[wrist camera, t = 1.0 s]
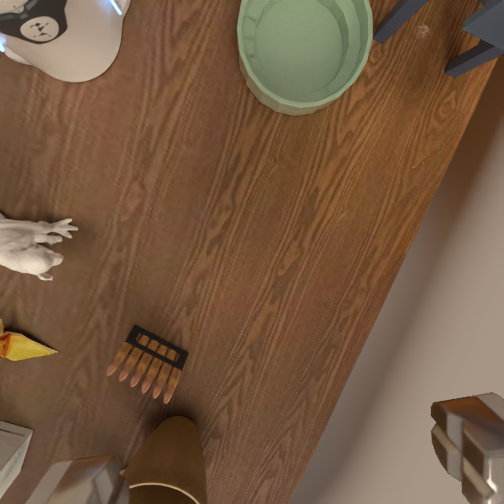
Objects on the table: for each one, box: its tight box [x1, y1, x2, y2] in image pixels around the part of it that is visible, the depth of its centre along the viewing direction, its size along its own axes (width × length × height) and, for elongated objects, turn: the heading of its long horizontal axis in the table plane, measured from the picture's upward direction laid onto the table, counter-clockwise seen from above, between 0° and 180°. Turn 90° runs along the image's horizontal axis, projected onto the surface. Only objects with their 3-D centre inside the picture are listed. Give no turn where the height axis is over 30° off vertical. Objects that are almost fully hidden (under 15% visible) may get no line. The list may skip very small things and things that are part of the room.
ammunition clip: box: [107, 325, 188, 404], centre depth 46 cm, size 11×2×12 cm, turn 57°
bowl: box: [237, 0, 373, 116], centre depth 40 cm, size 17×17×6 cm
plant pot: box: [122, 416, 207, 504], centre depth 49 cm, size 15×15×16 cm
